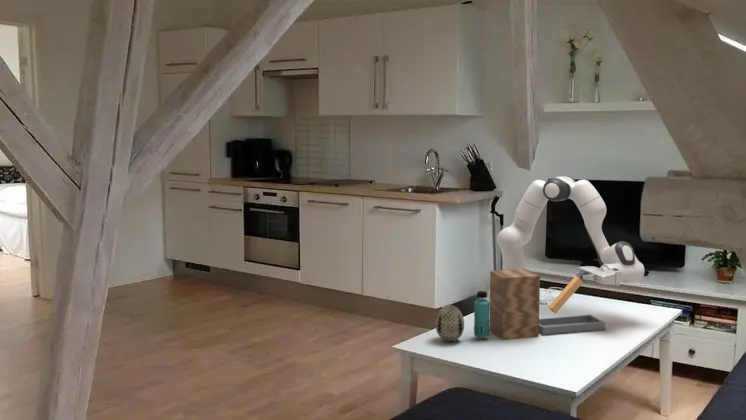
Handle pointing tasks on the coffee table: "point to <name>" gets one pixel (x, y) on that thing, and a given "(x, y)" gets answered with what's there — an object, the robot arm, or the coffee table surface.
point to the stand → (514, 303)
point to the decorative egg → (449, 323)
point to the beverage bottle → (481, 315)
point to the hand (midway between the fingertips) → (579, 276)
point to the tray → (570, 325)
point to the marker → (567, 292)
